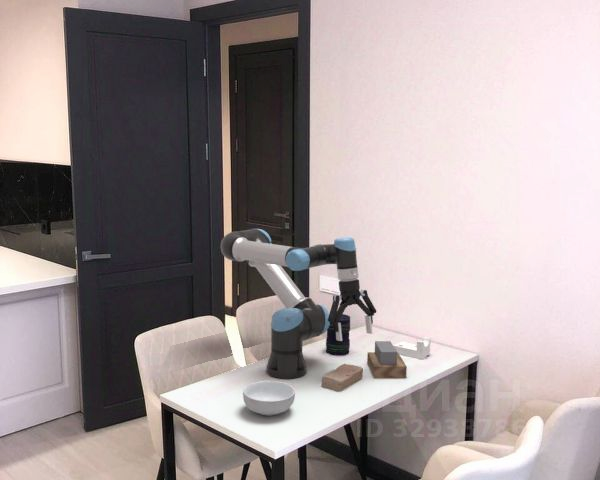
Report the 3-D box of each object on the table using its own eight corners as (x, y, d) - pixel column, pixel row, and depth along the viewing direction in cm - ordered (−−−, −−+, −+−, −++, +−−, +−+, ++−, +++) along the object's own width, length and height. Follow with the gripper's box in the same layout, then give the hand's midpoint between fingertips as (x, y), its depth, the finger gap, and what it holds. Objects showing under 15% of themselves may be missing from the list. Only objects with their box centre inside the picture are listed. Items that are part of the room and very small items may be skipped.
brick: (340, 393, 229) (340, 380, 228) (320, 387, 234) (320, 374, 233) (363, 379, 243) (364, 367, 242) (344, 374, 247) (344, 362, 247)
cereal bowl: (233, 407, 215) (233, 386, 214) (276, 396, 224) (276, 376, 223) (260, 426, 201) (260, 404, 200) (304, 414, 211) (305, 393, 210)
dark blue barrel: (320, 352, 271) (321, 317, 269) (335, 346, 278) (336, 312, 276) (340, 357, 265) (341, 321, 262) (354, 351, 272) (355, 316, 270)
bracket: (429, 355, 269) (430, 338, 268) (422, 360, 264) (423, 342, 262) (401, 349, 277) (401, 332, 276) (393, 353, 271) (394, 336, 270)
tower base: (374, 379, 243) (374, 366, 242) (367, 364, 258) (367, 352, 258) (406, 379, 243) (406, 366, 243) (397, 364, 259) (397, 352, 258)
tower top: (380, 365, 244) (381, 352, 243) (374, 353, 256) (375, 341, 256) (396, 365, 244) (397, 352, 243) (389, 353, 257) (390, 341, 256)
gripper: (325, 285, 231) (332, 344, 232) (381, 275, 244) (387, 331, 245) (314, 284, 238) (320, 342, 239) (369, 274, 250) (375, 329, 251)
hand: (354, 336), depth 242 cm, fingers open, 13 cm apart
